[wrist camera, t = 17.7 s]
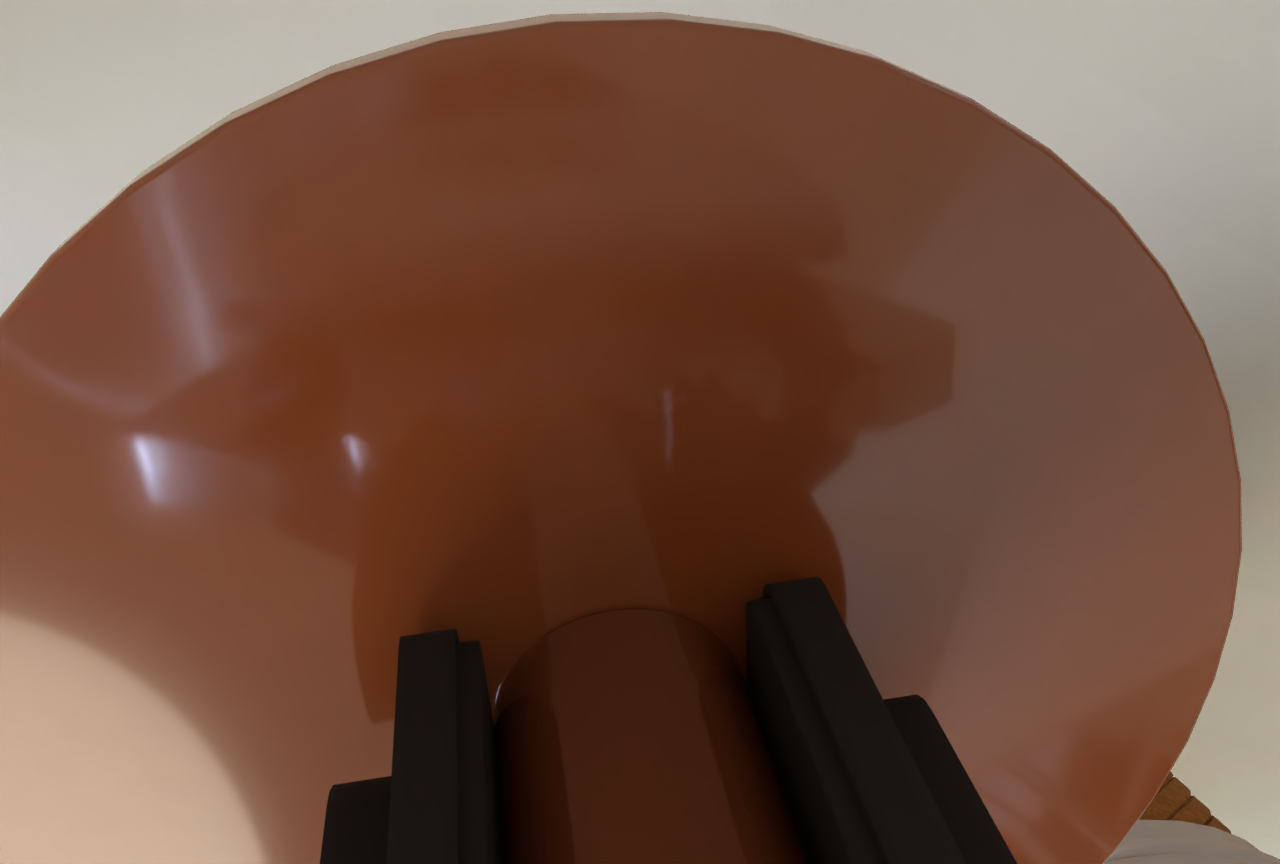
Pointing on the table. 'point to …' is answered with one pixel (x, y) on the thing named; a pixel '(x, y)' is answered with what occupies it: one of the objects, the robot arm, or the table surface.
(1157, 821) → the disposable coffee cup
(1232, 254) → the table surface
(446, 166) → the lid
